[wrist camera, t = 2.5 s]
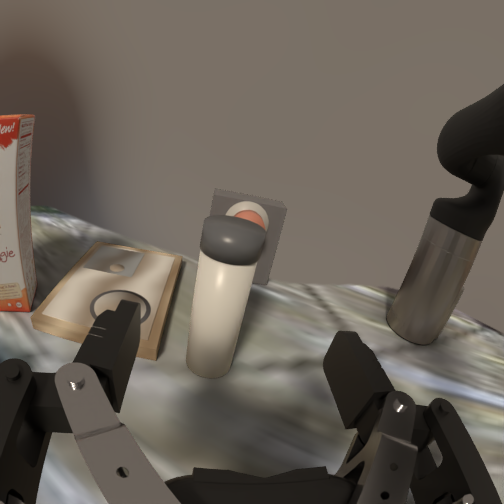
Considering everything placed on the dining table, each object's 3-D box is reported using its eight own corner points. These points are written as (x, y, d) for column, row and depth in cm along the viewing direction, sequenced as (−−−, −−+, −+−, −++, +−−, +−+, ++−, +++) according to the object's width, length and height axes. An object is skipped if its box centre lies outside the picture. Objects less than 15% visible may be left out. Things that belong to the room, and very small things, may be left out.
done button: (259, 244, 39) (267, 213, 37) (260, 249, 37) (269, 217, 36) (227, 238, 38) (233, 206, 37) (227, 243, 37) (233, 210, 35)
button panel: (263, 272, 47) (281, 201, 42) (266, 286, 43) (287, 209, 38) (201, 262, 45) (214, 188, 41) (199, 275, 41) (213, 195, 37)
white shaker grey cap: (230, 348, 29) (262, 221, 24) (232, 381, 25) (270, 243, 19) (187, 342, 28) (206, 211, 23) (182, 375, 24) (201, 231, 19)
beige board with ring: (181, 265, 43) (182, 255, 42) (156, 360, 25) (156, 348, 24) (97, 249, 41) (97, 240, 40) (33, 328, 22) (30, 315, 22)
